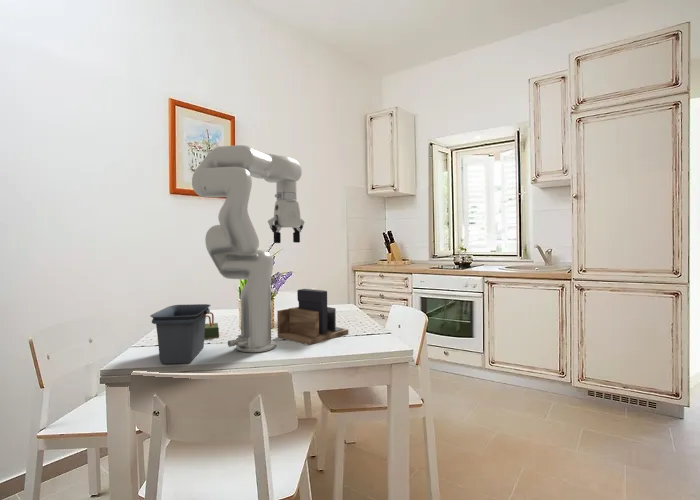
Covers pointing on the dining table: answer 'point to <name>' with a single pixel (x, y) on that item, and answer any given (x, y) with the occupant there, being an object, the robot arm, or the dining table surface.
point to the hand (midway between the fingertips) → (287, 242)
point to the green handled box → (211, 331)
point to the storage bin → (181, 331)
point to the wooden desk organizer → (306, 325)
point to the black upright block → (315, 305)
